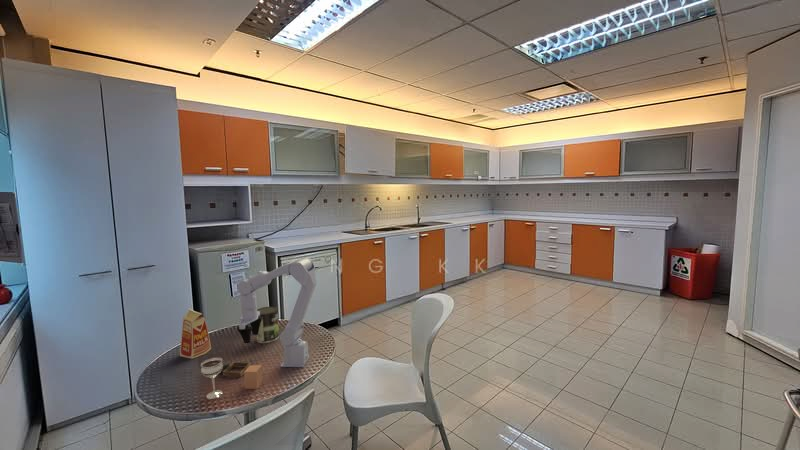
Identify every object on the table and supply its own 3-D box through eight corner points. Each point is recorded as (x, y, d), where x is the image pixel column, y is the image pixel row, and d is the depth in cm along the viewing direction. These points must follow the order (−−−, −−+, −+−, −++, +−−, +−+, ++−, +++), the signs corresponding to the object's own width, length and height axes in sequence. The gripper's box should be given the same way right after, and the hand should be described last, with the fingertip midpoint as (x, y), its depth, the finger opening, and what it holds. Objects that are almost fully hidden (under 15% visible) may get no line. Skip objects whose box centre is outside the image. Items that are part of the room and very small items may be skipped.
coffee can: (282, 333, 167) (280, 306, 165) (274, 343, 157) (272, 314, 155) (261, 333, 167) (260, 306, 165) (252, 343, 157) (250, 314, 155)
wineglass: (228, 387, 122) (225, 356, 121) (220, 399, 116) (218, 366, 114) (208, 389, 122) (205, 358, 120) (199, 401, 115) (196, 368, 113)
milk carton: (179, 355, 146) (175, 311, 144) (199, 346, 155) (195, 304, 152) (194, 359, 143) (190, 314, 140) (213, 349, 151) (209, 307, 149)
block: (262, 381, 126) (261, 365, 125) (257, 388, 122) (256, 371, 121) (250, 381, 126) (249, 365, 125) (245, 388, 122) (244, 371, 121)
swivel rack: (215, 364, 138) (215, 358, 137) (251, 366, 137) (250, 359, 136) (204, 375, 130) (203, 368, 130) (241, 376, 129) (240, 369, 129)
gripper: (248, 301, 147) (250, 331, 148) (230, 314, 132) (233, 346, 134) (264, 301, 146) (265, 331, 148) (248, 314, 132) (250, 346, 134)
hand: (251, 338), depth 141 cm, fingers open, 7 cm apart
